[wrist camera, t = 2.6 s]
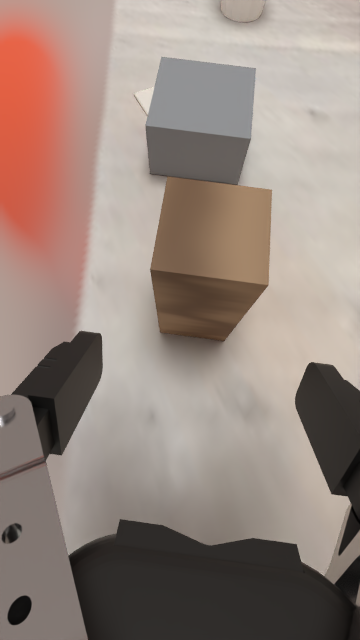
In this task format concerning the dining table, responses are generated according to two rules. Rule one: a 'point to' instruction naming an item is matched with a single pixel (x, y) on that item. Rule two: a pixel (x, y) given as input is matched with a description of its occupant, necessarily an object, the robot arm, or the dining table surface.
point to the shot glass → (242, 9)
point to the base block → (200, 120)
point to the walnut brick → (210, 256)
